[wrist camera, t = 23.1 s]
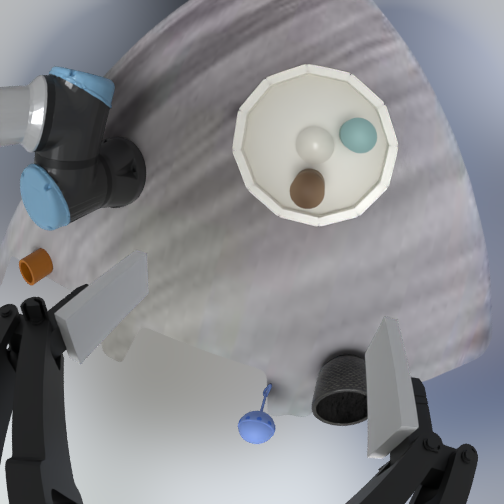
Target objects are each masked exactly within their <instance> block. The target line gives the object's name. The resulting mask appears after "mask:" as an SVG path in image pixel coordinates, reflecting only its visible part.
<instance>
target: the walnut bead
mask: <svg viewBox="0 0 504 504" xmlns="http://www.w3.org/2000/svg"><path fill="white" fill-rule="evenodd" d="M324 195H325V181H324V178H323V176H322V174H321V173H320V172H319V171H317V170H315V169H310V168H308V169H304V170H302V171H300V172H299V173H298V174H297V176H296V177H295V179H294V180H293V182H292V184H291V186H290V197H291V199H292V201H293V202H294V203H295V204H296V205H297V206H299V207H301V208H303V209H312V208H315V207H317V206H318V205H319V204H320V203H321V202H322V201H323V199H324Z"/></svg>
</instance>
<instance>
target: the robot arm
mask: <svg viewBox="0 0 504 504" xmlns="http://www.w3.org/2000/svg"><path fill="white" fill-rule="evenodd" d="M114 90H115V87H114V83H113V82H112V81H111V80H110V79H107V78H104V77H101V76H97V75H93V74H89V73H85V72H81V71H76V70H72V69H68V68H63V67H57V66H55V67H53V68H52V69H51V71H50V72H49V75H48V76H47V75H40V76H37V77H36V78H35V79H34V80H33V81H32V82H31V83H30V84H29V85H26V86H9V87H0V147H1V146H8V145H15V144H21V145H22V146H23V147H24V148H25V149H26V150H27V151H28V152H35V159H34V164H30V165H29V166H28V167H26V168H25V169H24V171H23V173H22V175H21V180H20V190H21V196H22V200H23V203H24V206H25V208H26V210H27V212H28V214H29V216H30V217H31V219H32V220H33V221H34V222H35V223H36V224H37V225H38V226H39V227H40V228H42V229H44V230H55V229H57V228H59V227H62V226H67V225H68V224H69V223H71V222H73V221H75V220H77V219H79V218H81V217H83V216H85V215H87V214H89V213H91V212H93V211H95V210H97V209H99V208H106V207H111V208H120V207H123V206H126V205H128V204H130V203H132V202H133V201H135V200H136V199H137V198H138V197H139V195H140V194H141V192H142V190H143V187H144V184H145V177H146V170H145V163H144V160H143V157H142V154H141V152H140V151H139V149H138V148H137V146H136V145H135V144H134V143H133V142H131V141H130V140H128V139H126V138H123V137H114V138H108V139H105V140H103V141H102V138H103V133H104V129H105V125H106V121H107V117H108V113H109V109H111V107H112V105H111V102H112V98H113V94H114ZM148 293H149V291H148V268H147V253H145V252H142V251H139V250H135V251H134V252H132V253H131V254H130V255H128V256H127V257H126V258H124V259H123V260H122V261H120V262H119V263H118V264H116V265H115V266H114V267H112V268H111V269H110V270H108V271H107V272H106V273H104V274H103V275H102V276H100V277H99V278H98V279H97V280H95V281H94V282H93V283H91V284H90V285H88V284H85V285H83V286H80V287H78V288H76V289H75V290H74V291H72V292H71V294H69V295H67V296H66V297H65V298H64V299H62V300H61V301H60V302H59V303H57V304H56V305H55V306H54V307H52V308H51V309H50V310H49V311H47V308H46V305H45V302H44V300H43V299H42V298H40V297H31V298H28V299H26V300H25V301H24V302H23V303H22V304H21V306H20V307H21V310H22V313H23V315H22V314H19V312H18V309H17V307H16V306H15V305H13V304H7V305H4V306H2V307H1V308H0V463H1V457H2V452H3V447H4V442H5V437H6V433H7V429H8V425H9V421H10V417H11V414H12V410H13V415H12V457H11V458H9V459H7V461H6V464H5V471H6V482H7V491H8V499H9V504H83V502H82V498H81V495H80V493H79V491H78V489H77V487H76V485H75V483H74V479H73V474H72V469H71V463H70V456H69V449H68V441H67V432H66V422H65V407H64V377H63V376H64V375H63V374H64V357H63V354H62V353H63V352H64V351H65V350H67V352H68V355H69V357H70V358H71V359H72V360H74V361H76V362H77V363H79V364H82V362H83V361H84V360H85V359H86V358H87V357H88V356H89V355H90V354H91V353H92V351H93V350H94V349H95V348H96V347H97V346H98V345H99V344H100V343H101V342H102V341H103V340H104V339H105V338H106V337H107V336H108V335H109V333H110V332H111V331H112V330H113V329H114V328H115V327H116V326H117V325H118V324H119V323H120V322H121V321H122V320H123V319H124V318H125V317H126V316H127V315H128V314H129V313H130V312H131V311H132V310H133V309H134V308H135V307H136V306H137V304H138V303H139V302H140V301H141V300H142V299H143V298H144V297H145V296H146V295H147V294H148ZM8 344H9V348H8V349H6V348H7V345H8ZM365 362H366V379H367V406H368V449H367V450H368V451H367V458H381V459H383V458H384V457H386V456H387V455H388V454H389V453H390V461H389V462H387V463H386V464H385V465H383V466H382V467H381V468H380V469H379V472H378V473H377V474H376V475H375V476H374V477H373V478H372V479H371V480H370V481H369V482H368V483H367V484H366V485H365V486H364V487H363V488H362V489H361V490H360V491H359V492H358V493H357V494H356V495H354V496H353V497H352V498H351V499H350V500H349V501H348V502H347V503H346V504H405V503H406V501H407V500H408V499H409V498H410V497H411V495H412V494H413V493H414V494H413V496H412V498H411V500H410V502H409V504H466V502H467V499H468V496H469V493H470V489H471V486H472V482H473V478H474V474H475V470H476V466H477V461H478V455H477V451H476V450H475V448H474V447H473V446H471V445H469V444H463V445H461V446H460V447H459V448H457V449H455V448H452V447H449V446H445V445H443V443H442V440H441V438H440V437H439V436H438V435H437V434H436V433H434V432H433V431H432V424H431V418H430V412H429V407H428V405H427V404H428V402H427V398H426V392H425V387H424V386H423V384H422V382H421V381H420V379H419V378H412V377H411V376H410V371H409V366H408V361H407V357H406V352H405V348H404V344H403V340H402V336H401V332H400V328H399V324H398V320H397V319H394V318H390V317H386V316H384V318H383V320H382V322H381V324H380V326H379V328H378V330H377V332H376V334H375V336H374V338H373V340H372V342H371V344H370V345H369V347H368V349H367V351H366V353H365ZM414 491H415V492H414Z"/></svg>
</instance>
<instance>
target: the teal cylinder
mask: <svg viewBox="0 0 504 504" xmlns="http://www.w3.org/2000/svg"><path fill="white" fill-rule="evenodd" d="M339 137H340V140H341V142H342V144H343V145H344V146H345V147H347V148H348V149H349V150H351V151H353V152H355V153H366V152H368V151H370V150H371V149H372V148H373V147H374V146H375V144H376V141H377V132H376V129H375V127H374V126H373V125H372V123H370V122H369V121H368V120H366V119H363V118H353V119H350V120H348V121H346V122H345V123H343V125H342V126H341V128H340V130H339Z"/></svg>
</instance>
